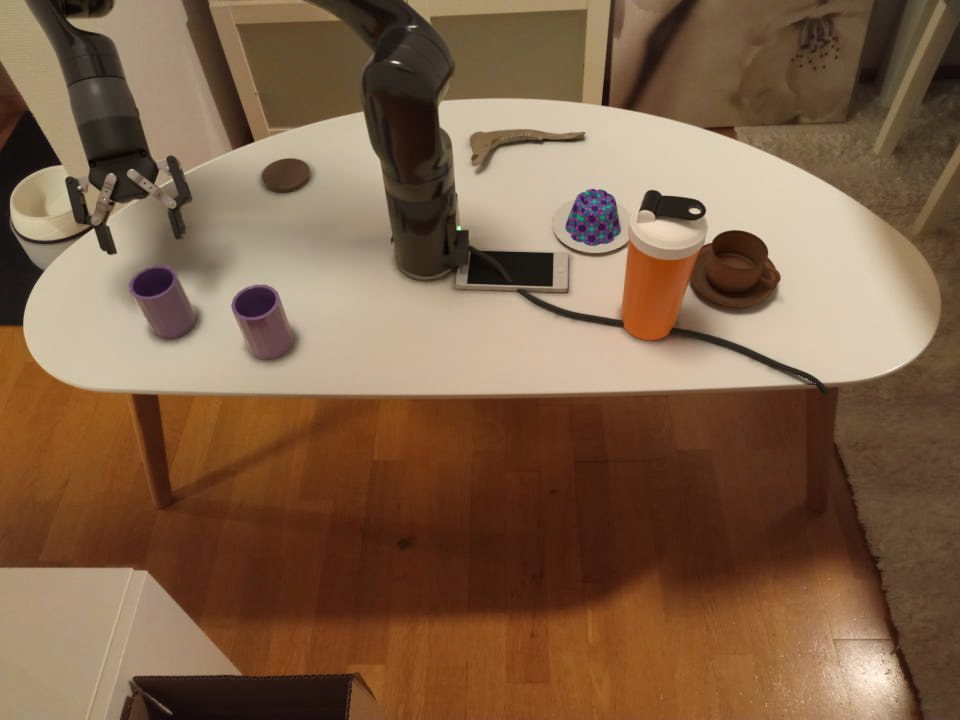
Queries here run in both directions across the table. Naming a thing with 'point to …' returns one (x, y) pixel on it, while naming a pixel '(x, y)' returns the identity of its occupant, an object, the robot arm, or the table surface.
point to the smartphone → (516, 271)
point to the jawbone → (490, 140)
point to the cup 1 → (163, 301)
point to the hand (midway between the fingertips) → (146, 246)
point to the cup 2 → (262, 321)
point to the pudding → (592, 222)
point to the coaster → (286, 175)
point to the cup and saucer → (735, 270)
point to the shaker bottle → (660, 261)
